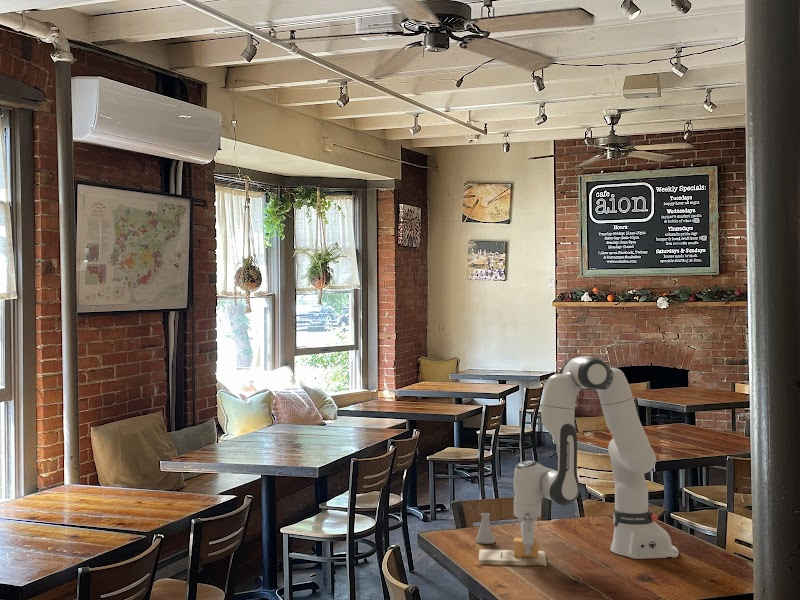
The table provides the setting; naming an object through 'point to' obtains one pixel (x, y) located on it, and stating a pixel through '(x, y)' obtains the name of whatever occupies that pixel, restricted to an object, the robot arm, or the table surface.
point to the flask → (485, 531)
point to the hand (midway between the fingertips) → (527, 551)
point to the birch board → (509, 558)
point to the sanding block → (520, 548)
